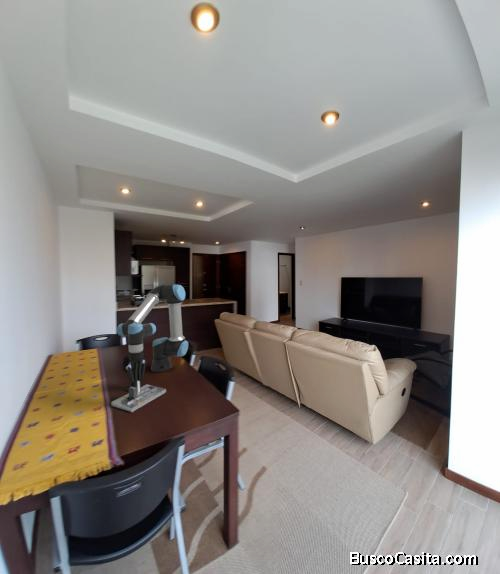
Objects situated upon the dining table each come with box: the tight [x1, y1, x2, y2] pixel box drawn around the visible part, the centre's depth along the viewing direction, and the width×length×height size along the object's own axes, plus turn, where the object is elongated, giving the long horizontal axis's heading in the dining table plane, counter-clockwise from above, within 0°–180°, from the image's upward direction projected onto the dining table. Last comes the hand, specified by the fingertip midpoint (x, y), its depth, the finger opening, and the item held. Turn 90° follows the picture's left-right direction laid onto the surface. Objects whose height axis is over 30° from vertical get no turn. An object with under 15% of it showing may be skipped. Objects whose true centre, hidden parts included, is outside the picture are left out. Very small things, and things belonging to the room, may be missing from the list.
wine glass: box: [122, 354, 143, 393], centre depth 152 cm, size 10×10×20 cm
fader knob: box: [128, 387, 137, 400], centre depth 134 cm, size 2×4×6 cm, turn 65°
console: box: [110, 384, 167, 413], centre depth 138 cm, size 24×16×3 cm, turn 155°
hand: (137, 392), depth 136 cm, fingers closed
